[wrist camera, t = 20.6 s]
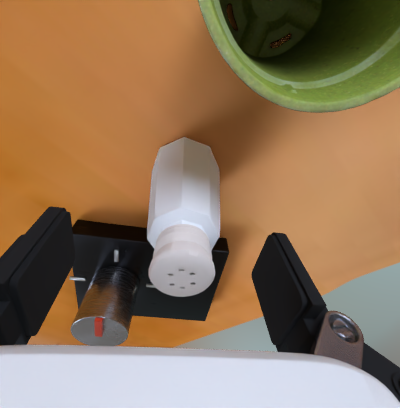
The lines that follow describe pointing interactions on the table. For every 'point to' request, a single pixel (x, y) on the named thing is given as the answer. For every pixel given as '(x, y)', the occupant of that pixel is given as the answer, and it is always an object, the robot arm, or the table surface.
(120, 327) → the hob knob
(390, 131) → the table surface
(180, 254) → the pepper shaker
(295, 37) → the plant pot
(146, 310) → the black knob panel
